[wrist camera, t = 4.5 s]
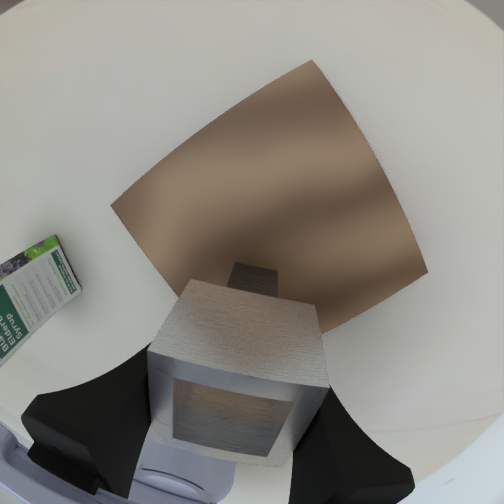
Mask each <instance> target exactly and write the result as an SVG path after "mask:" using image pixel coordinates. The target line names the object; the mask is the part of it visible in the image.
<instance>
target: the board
mask: <svg viewBox="0 0 504 504" xmlns="http://www.w3.org/2000/svg"><path fill="white" fill-rule="evenodd" d="M110 206H111V207H112V209H113V210H114V211H115V213H116V214H117V216H118V217H119V219H120V220H121V222H122V223H123V224H124V226H125V227H126V229H127V230H128V231H129V233H130V234H131V236H132V237H133V238H134V240H135V241H136V242H137V244H138V245H139V247H140V248H141V249H142V251H143V252H144V253H145V255H146V256H147V257H148V259H149V260H150V261H151V263H152V264H153V265H154V266H155V268H156V269H157V270H158V272H159V273H160V274H161V276H162V277H163V278H164V279H165V281H166V282H167V283H168V284H169V286H170V287H171V288H172V289H173V291H174V292H175V293H176V294H177V296H178V297H180V296H181V294H182V292H183V291H184V289H185V288H186V286H187V285H188V283H189V281H190V280H191V279H193V280H197V281H202V282H206V283H210V284H215V285H219V286H224V287H226V286H227V283H228V281H229V278H230V275H231V272H232V269H233V267H234V264H235V262H237V263H242V264H247V265H251V266H256V267H261V268H266V269H271V270H276V271H278V298H280V299H285V300H290V301H295V302H301V303H306V304H311V305H315V308H316V313H317V318H318V323H319V328H320V334H323V333H325V332H327V331H329V330H331V329H333V328H335V327H336V326H338V325H340V324H342V323H344V322H346V321H348V320H350V319H351V318H353V317H355V316H357V315H359V314H360V313H362V312H364V311H366V310H367V309H369V308H371V307H373V306H374V305H376V304H378V303H380V302H381V301H383V300H385V299H386V298H388V297H390V296H391V295H393V294H395V293H396V292H398V291H400V290H401V289H403V288H404V287H406V286H408V285H409V284H411V283H412V282H414V281H415V280H417V279H419V278H420V277H422V276H423V275H425V274H426V273H428V271H427V268H426V265H425V263H424V260H423V257H422V255H421V252H420V250H419V247H418V245H417V242H416V240H415V237H414V235H413V232H412V230H411V228H410V225H409V223H408V221H407V219H406V216H405V214H404V212H403V210H402V208H401V205H400V203H399V201H398V199H397V197H396V195H395V193H394V191H393V189H392V187H391V185H390V183H389V181H388V179H387V177H386V175H385V173H384V171H383V169H382V167H381V166H380V164H379V162H378V160H377V158H376V156H375V155H374V153H373V151H372V149H371V147H370V146H369V144H368V142H367V141H366V139H365V137H364V135H363V134H362V132H361V130H360V129H359V127H358V126H357V124H356V122H355V121H354V119H353V118H352V116H351V114H350V113H349V111H348V110H347V108H346V107H345V105H344V104H343V102H342V101H341V99H340V98H339V96H338V95H337V93H336V92H335V90H334V89H333V88H332V86H331V85H330V83H329V82H328V80H327V79H326V78H325V76H324V75H323V74H322V72H321V71H320V70H319V68H318V67H317V66H316V64H315V63H314V62H313V60H310V61H308V62H306V63H304V64H303V65H301V66H299V67H297V68H295V69H294V70H292V71H290V72H288V73H286V74H285V75H283V76H281V77H280V78H278V79H276V80H274V81H273V82H271V83H269V84H268V85H266V86H265V87H263V88H261V89H260V90H258V91H256V92H255V93H253V94H252V95H250V96H249V97H247V98H246V99H244V100H242V101H241V102H239V103H238V104H236V105H235V106H233V107H232V108H230V109H229V110H228V111H226V112H225V113H223V114H222V115H220V116H219V117H217V118H216V119H215V120H213V121H212V122H210V123H209V124H208V125H206V126H205V127H204V128H202V129H201V130H199V131H198V132H197V133H195V134H194V135H193V136H191V137H190V138H189V139H187V140H186V141H185V142H184V143H182V144H181V145H180V146H178V147H177V148H176V149H175V150H173V151H172V152H171V153H170V154H168V155H167V156H166V157H165V158H163V159H162V160H161V161H160V162H159V163H157V164H156V165H155V166H154V167H153V168H151V169H150V170H149V171H148V172H147V173H146V174H144V175H143V176H142V177H141V178H140V179H139V180H138V181H136V182H135V183H134V184H133V185H132V186H131V187H130V188H129V189H127V190H126V191H125V192H124V193H123V194H122V195H121V196H120V197H119V198H118V199H117V200H116V201H114V202H113V203H112V204H111V205H110Z"/></svg>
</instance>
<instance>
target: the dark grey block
mask: <svg viewBox="0 0 504 504" xmlns="http://www.w3.org/2000/svg"><path fill="white" fill-rule="evenodd" d="M226 287H228V288H233V289H237V290H242V291H247V292H251V293H256V294H261V295H266V296H270V297H275V298H278V271H276V270H271V269H266V268H261V267H256V266H251V265H247V264H242V263H237V262H235V264H234V267H233V269H232V272H231V275H230V278H229V281H228V283H227V286H226Z"/></svg>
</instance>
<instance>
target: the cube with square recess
mask: <svg viewBox="0 0 504 504" xmlns="http://www.w3.org/2000/svg"><path fill="white" fill-rule="evenodd" d="M147 362H148V384H149V399H150V412H151V423H152V432H153V441H154V442H157V443H160V444H163V445H167V446H170V447H174V448H177V449H181V450H184V451H188V452H192V453H196V454H200V455H205V456H209V457H214V458H219V459H224V460H229V461H235V462H240V463H247V464H253V465H261V466H269V467H278V468H282V467H283V466H284V464H285V463H286V461H287V460H288V458H289V457H290V455H291V454H292V452H293V451H294V449H295V448H296V446H297V444H298V443H299V441H300V440H301V438H302V436H303V435H304V433H305V431H306V430H307V428H308V426H309V425H310V423H311V421H312V420H313V418H314V416H315V414H316V413H317V411H318V409H319V407H320V405H321V404H322V402H323V400H324V398H325V396H326V394H327V393H328V391H329V389H330V385H329V379H328V373H327V367H326V361H325V355H324V350H323V344H322V339H321V334H320V328H319V323H318V318H317V313H316V308H315V305H311V304H306V303H301V302H295V301H290V300H285V299H280V298H275V297H270V296H266V295H261V294H256V293H251V292H247V291H242V290H237V289H233V288H228V287H224V286H219V285H215V284H210V283H206V282H202V281H197V280H193V279H191V280H190V281H189V283H188V285H187V286H186V288H185V289H184V291H183V292H182V294H181V296H180V297H179V299H178V300H177V302H176V304H175V305H174V307H173V308H172V310H171V312H170V313H169V315H168V317H167V318H166V320H165V321H164V323H163V325H162V326H161V328H160V330H159V331H158V333H157V335H156V336H155V338H154V340H153V341H152V343H151V345H150V346H149V348H148V350H147Z"/></svg>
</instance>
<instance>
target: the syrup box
mask: <svg viewBox="0 0 504 504" xmlns="http://www.w3.org/2000/svg"><path fill="white" fill-rule="evenodd" d="M81 290H82V289H81V287H80V285H79V284H78V283H77V281H76V279H75V277H74V275H73V273H72V271H71V269H70V267H69V265H68V263H67V261H66V259H65V257H64V254H63V252H62V250H61V248H60V246H59V244H58V241H57V238H56V236H55V235H53V236H51V237H49V238H47V239H45V240H43V241H41V242H39V243H37V244H36V245H34V246H32V247H30V248H28V249H27V250H25V251H23V252H21V253H20V254H18V255H16V256H15V257H13V258H11V259H9V260H8V261H6V262H4V263H3V264H1V265H0V368H1V367H2V366H3V365H4V364H5V363H6V362H7V361H8V359H9V358H10V357H11V356H12V355H13V354H14V353H15V352H16V351H17V350H18V349H19V348H20V347H21V346H22V345H23V344H24V343H25V342H26V341H27V340H28V339H29V338H30V337H31V336H32V335H33V334H34V333H35V332H36V331H37V330H38V329H39V328H40V327H41V326H42V325H43V324H44V323H45V322H46V321H48V320H49V319H50V318H51V317H52V316H53V315H54V314H55V313H56V312H58V311H59V310H60V309H61V308H62V307H63V306H64V305H66V304H67V303H68V302H69V301H71V300H72V299H73V298H74V297H75V296H77V295H78V294H79V293H80V292H81Z"/></svg>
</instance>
